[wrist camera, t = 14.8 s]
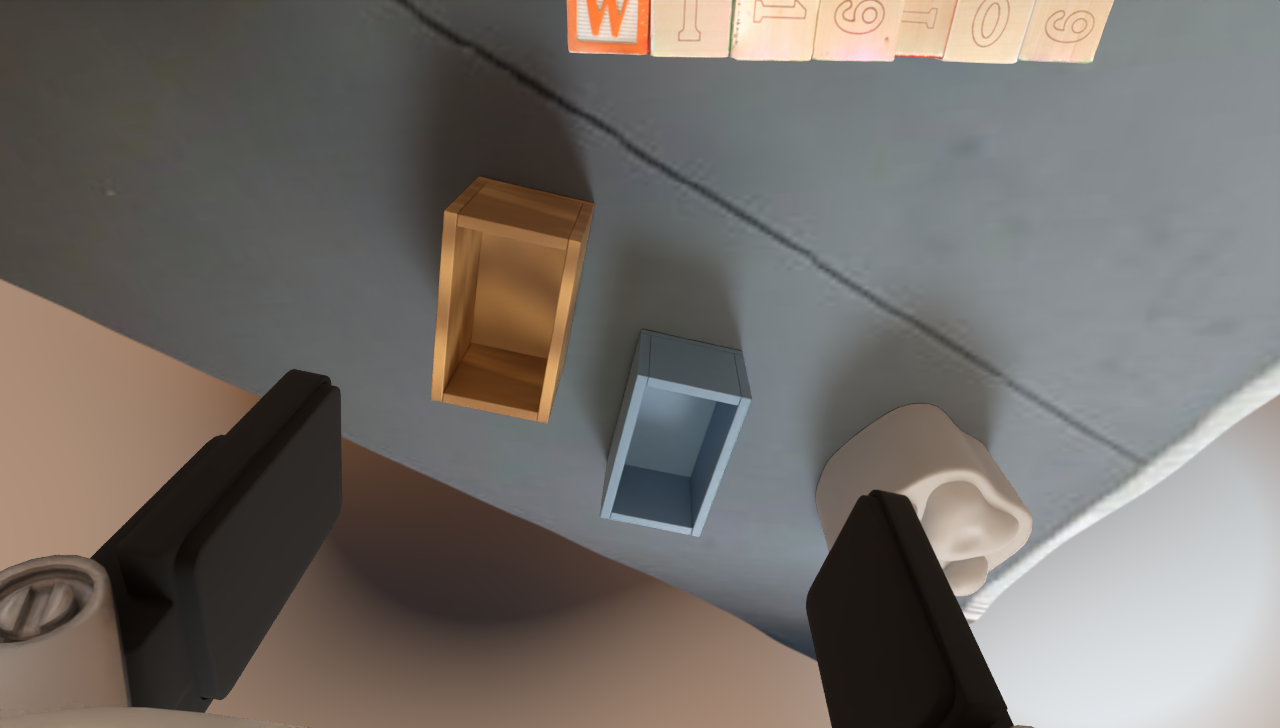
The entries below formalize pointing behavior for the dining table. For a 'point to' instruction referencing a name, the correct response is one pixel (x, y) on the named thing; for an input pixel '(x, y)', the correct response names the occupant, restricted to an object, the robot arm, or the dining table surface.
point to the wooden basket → (507, 297)
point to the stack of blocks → (841, 29)
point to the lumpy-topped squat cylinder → (930, 490)
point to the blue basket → (674, 433)
